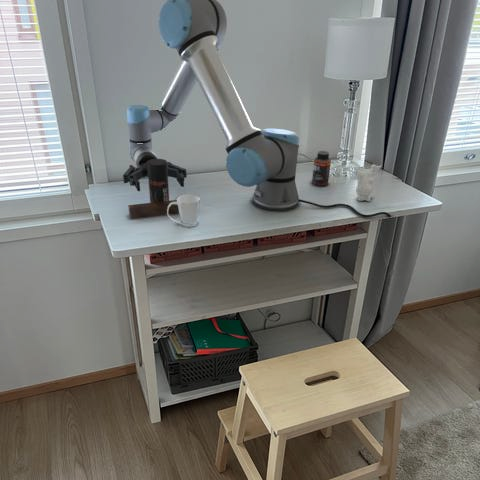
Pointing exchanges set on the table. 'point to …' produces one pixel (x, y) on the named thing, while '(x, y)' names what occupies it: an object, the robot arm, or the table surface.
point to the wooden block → (152, 209)
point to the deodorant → (158, 180)
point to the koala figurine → (366, 182)
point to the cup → (187, 209)
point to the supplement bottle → (321, 169)
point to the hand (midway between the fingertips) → (160, 184)
